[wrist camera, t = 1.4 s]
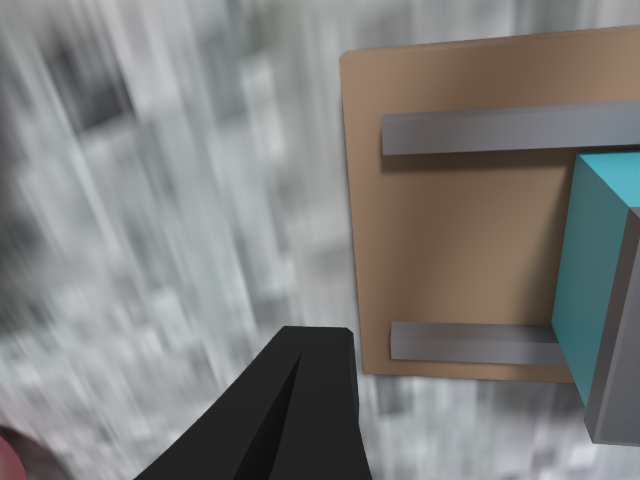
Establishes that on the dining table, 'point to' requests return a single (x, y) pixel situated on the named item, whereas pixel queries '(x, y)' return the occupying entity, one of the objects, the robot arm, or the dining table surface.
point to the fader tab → (603, 293)
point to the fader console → (475, 192)
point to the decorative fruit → (10, 463)
